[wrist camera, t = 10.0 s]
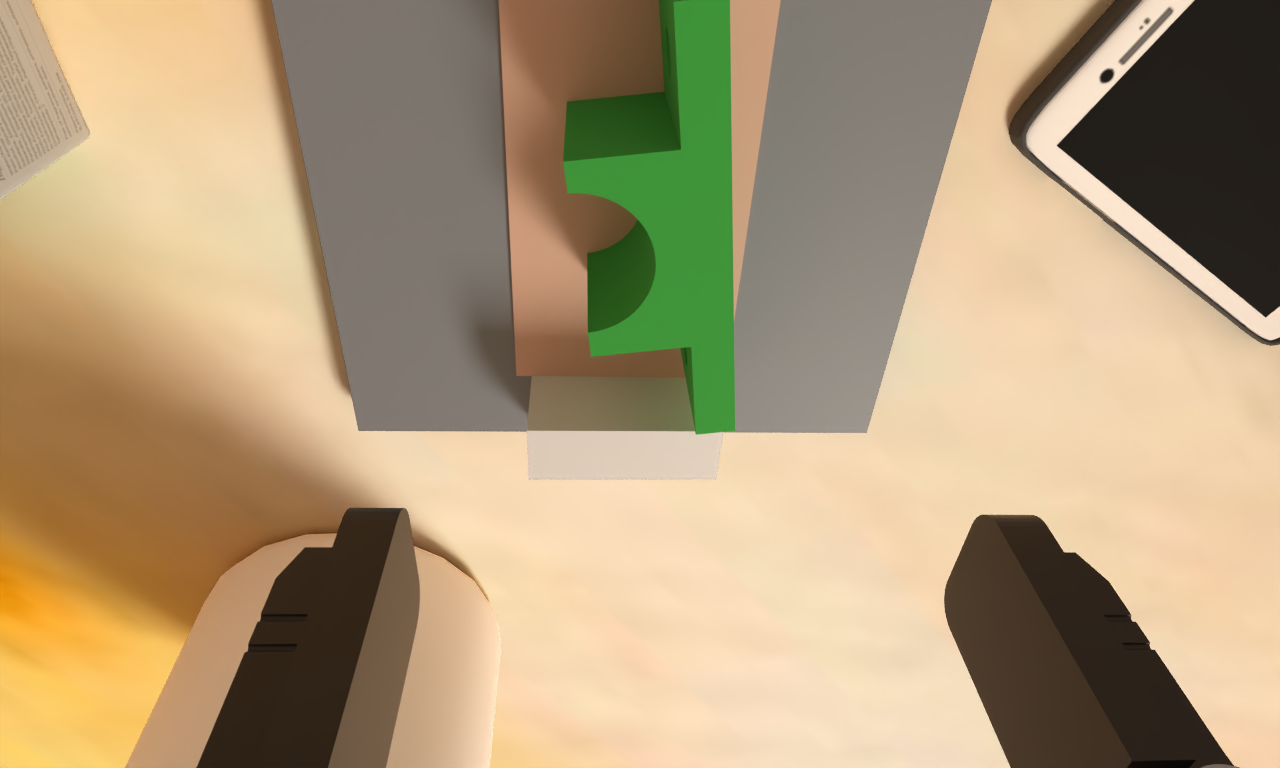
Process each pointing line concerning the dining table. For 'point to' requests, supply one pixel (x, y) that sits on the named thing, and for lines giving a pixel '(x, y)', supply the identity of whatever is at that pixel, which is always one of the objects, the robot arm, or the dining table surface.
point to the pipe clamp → (667, 209)
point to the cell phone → (1176, 143)
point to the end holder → (613, 212)
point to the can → (433, 690)
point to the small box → (32, 99)
